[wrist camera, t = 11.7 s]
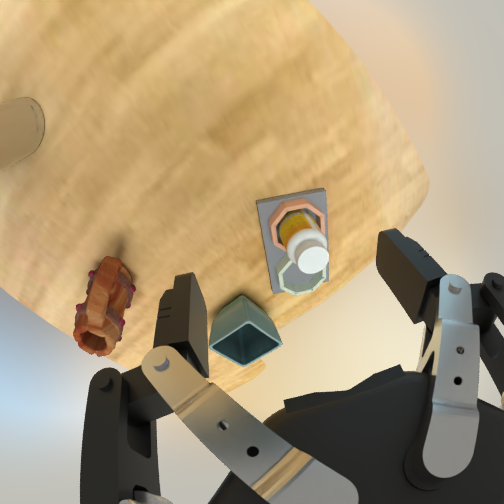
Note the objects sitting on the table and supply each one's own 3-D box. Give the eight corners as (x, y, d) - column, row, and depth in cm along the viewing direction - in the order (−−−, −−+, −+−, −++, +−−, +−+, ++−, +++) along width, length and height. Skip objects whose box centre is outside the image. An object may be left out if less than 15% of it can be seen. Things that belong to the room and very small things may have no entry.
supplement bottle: (317, 212, 41) (342, 248, 33) (302, 242, 44) (322, 282, 36) (285, 202, 40) (304, 236, 32) (270, 233, 42) (285, 273, 34)
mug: (131, 303, 48) (116, 372, 35) (90, 289, 45) (65, 355, 33) (151, 237, 41) (131, 308, 29) (102, 220, 39) (64, 284, 26)
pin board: (272, 289, 50) (275, 302, 47) (256, 200, 40) (259, 210, 38) (326, 276, 50) (332, 288, 47) (323, 187, 41) (331, 196, 38)
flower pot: (205, 309, 51) (206, 348, 43) (242, 281, 48) (248, 320, 41) (238, 330, 55) (243, 368, 47) (274, 306, 52) (284, 344, 45)
